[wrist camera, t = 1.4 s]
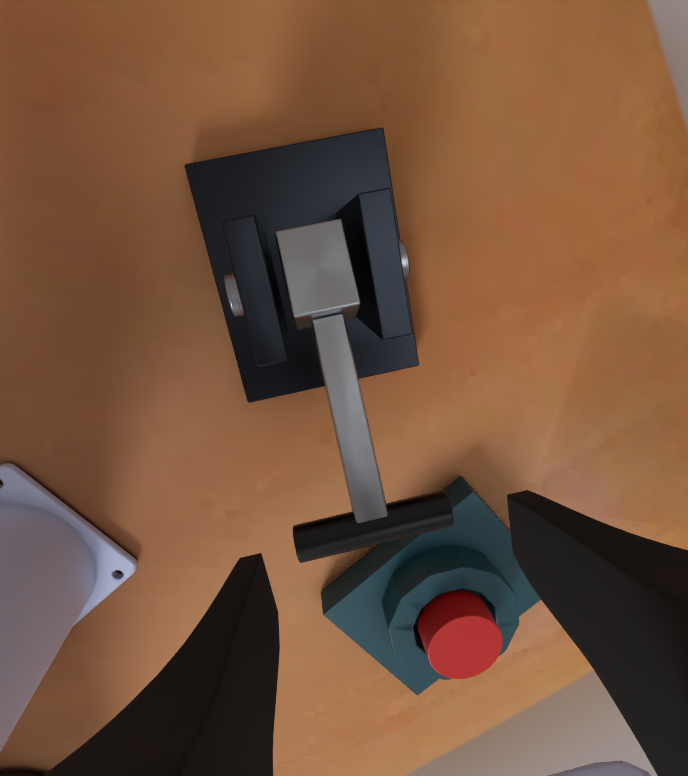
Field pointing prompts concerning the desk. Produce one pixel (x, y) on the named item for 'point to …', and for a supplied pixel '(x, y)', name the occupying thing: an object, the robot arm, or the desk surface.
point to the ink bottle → (19, 774)
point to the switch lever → (345, 399)
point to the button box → (429, 586)
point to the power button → (459, 634)
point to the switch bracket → (263, 267)
